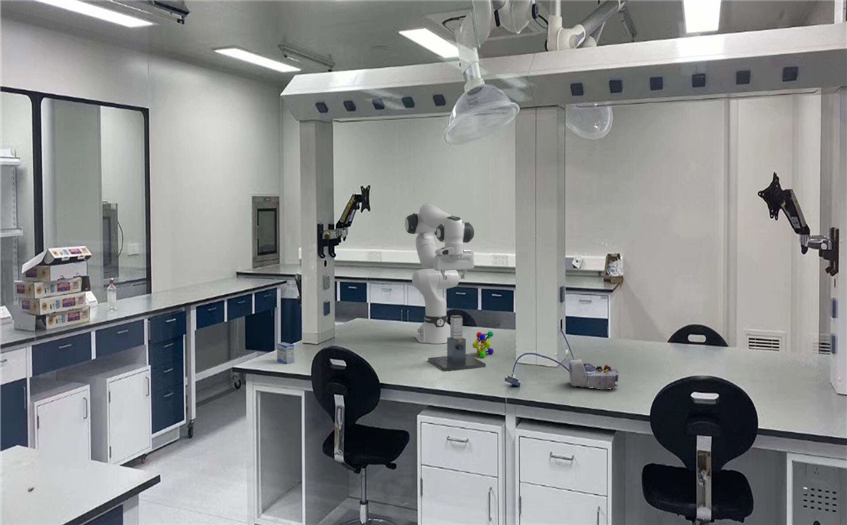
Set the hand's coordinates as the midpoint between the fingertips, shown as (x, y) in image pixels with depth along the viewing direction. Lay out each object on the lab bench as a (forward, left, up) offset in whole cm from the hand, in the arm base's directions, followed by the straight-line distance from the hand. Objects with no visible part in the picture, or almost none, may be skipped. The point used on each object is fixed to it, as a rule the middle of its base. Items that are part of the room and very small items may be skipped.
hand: (453, 279), depth 318 cm
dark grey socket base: (+16, -6, -37) cm, 41 cm away
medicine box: (-18, -78, -37) cm, 88 cm away
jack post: (+16, -6, -31) cm, 36 cm away
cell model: (+70, +31, -38) cm, 85 cm away
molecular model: (+6, +13, -37) cm, 40 cm away
